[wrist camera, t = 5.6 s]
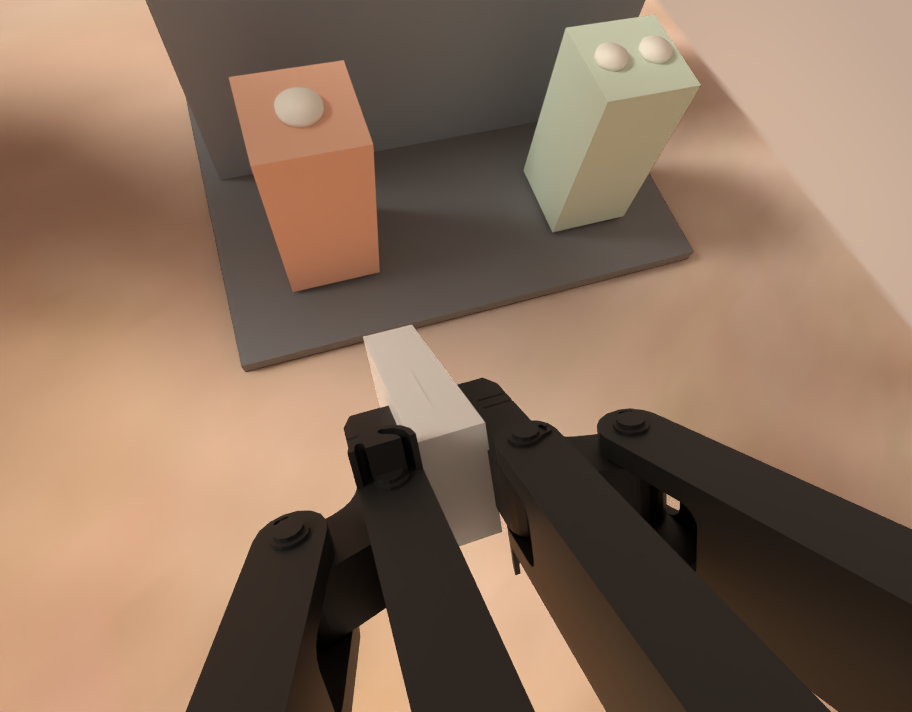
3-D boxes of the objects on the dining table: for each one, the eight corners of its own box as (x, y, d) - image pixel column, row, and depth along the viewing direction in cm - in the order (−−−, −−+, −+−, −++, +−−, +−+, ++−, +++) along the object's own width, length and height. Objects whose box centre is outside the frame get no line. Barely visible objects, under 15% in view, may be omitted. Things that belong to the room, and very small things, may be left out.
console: (687, 258, 36) (825, 97, 25) (245, 371, 31) (151, 229, 19) (568, 45, 43) (631, -159, 32) (189, 104, 38) (95, -121, 26)
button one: (379, 272, 33) (372, 138, 23) (292, 292, 32) (248, 160, 22) (357, 204, 34) (343, 54, 25) (274, 220, 33) (226, 71, 24)
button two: (623, 216, 36) (704, 79, 27) (552, 232, 35) (610, 96, 25) (592, 156, 38) (657, 9, 28) (523, 170, 37) (567, 22, 27)
